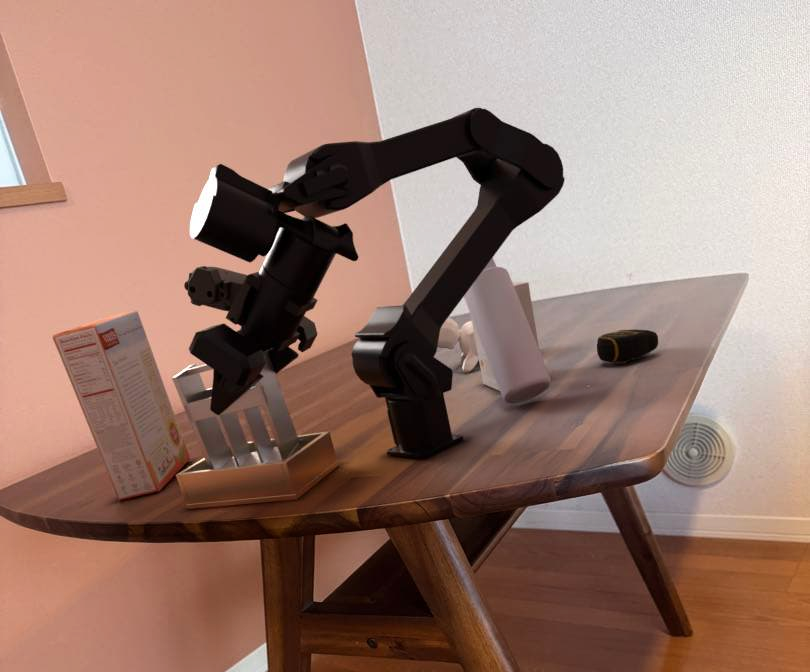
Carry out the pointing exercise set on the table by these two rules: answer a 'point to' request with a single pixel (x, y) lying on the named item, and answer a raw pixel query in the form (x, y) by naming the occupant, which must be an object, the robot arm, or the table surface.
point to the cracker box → (124, 402)
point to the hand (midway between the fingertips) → (227, 404)
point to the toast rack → (211, 432)
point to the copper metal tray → (260, 476)
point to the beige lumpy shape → (466, 340)
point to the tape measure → (626, 345)
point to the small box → (526, 304)
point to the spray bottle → (506, 336)
